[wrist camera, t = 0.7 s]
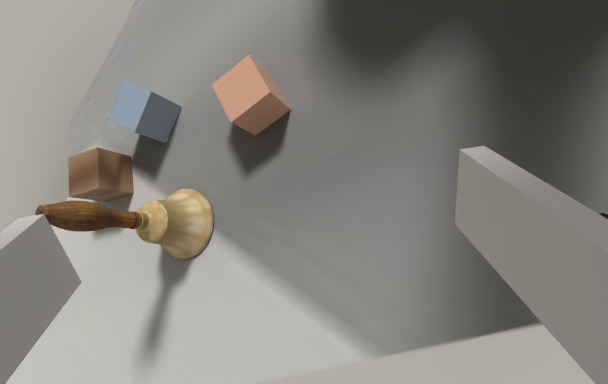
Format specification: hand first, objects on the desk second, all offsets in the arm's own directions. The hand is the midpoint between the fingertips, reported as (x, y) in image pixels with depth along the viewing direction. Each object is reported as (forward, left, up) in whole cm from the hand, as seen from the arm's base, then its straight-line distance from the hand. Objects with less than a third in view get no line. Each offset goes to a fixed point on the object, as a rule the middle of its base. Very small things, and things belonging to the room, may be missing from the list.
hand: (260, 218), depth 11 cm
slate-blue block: (-12, -29, -23) cm, 39 cm away
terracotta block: (-13, -14, -23) cm, 30 cm away
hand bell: (+1, -23, -23) cm, 33 cm away
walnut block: (-4, -35, -23) cm, 42 cm away
